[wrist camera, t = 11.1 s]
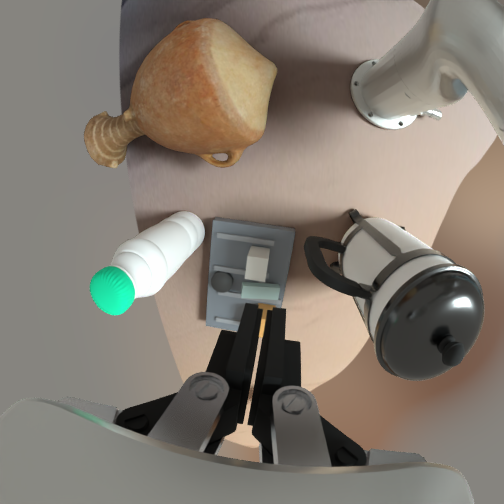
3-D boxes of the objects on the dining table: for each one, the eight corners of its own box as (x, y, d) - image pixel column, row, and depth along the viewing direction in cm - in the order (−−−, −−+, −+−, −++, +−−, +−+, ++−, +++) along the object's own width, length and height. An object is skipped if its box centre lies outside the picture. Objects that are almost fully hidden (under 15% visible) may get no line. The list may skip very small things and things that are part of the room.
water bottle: (214, 232, 46) (150, 305, 23) (186, 257, 48) (114, 338, 25) (186, 201, 45) (97, 246, 22) (160, 228, 47) (69, 289, 24)
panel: (294, 228, 45) (295, 234, 41) (275, 329, 51) (274, 341, 48) (216, 217, 45) (211, 221, 42) (208, 318, 52) (204, 329, 49)
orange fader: (275, 305, 47) (274, 320, 42) (272, 322, 48) (271, 338, 43) (258, 302, 47) (255, 318, 42) (255, 320, 48) (252, 336, 44)
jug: (308, 166, 30) (113, 227, 39) (290, 99, 41) (144, 154, 50) (243, 0, 15) (28, 140, 24) (247, -4, 26) (88, 80, 34)
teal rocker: (278, 284, 45) (280, 287, 44) (276, 295, 46) (278, 299, 44) (242, 281, 44) (242, 285, 43) (240, 293, 45) (241, 297, 44)
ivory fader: (270, 248, 44) (268, 259, 39) (266, 269, 45) (265, 282, 40) (251, 245, 44) (247, 255, 39) (248, 266, 45) (244, 278, 40)
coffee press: (390, 186, 41) (521, 234, 12) (413, 268, 45) (507, 372, 16) (297, 225, 45) (321, 337, 16) (330, 304, 48) (365, 446, 20)
